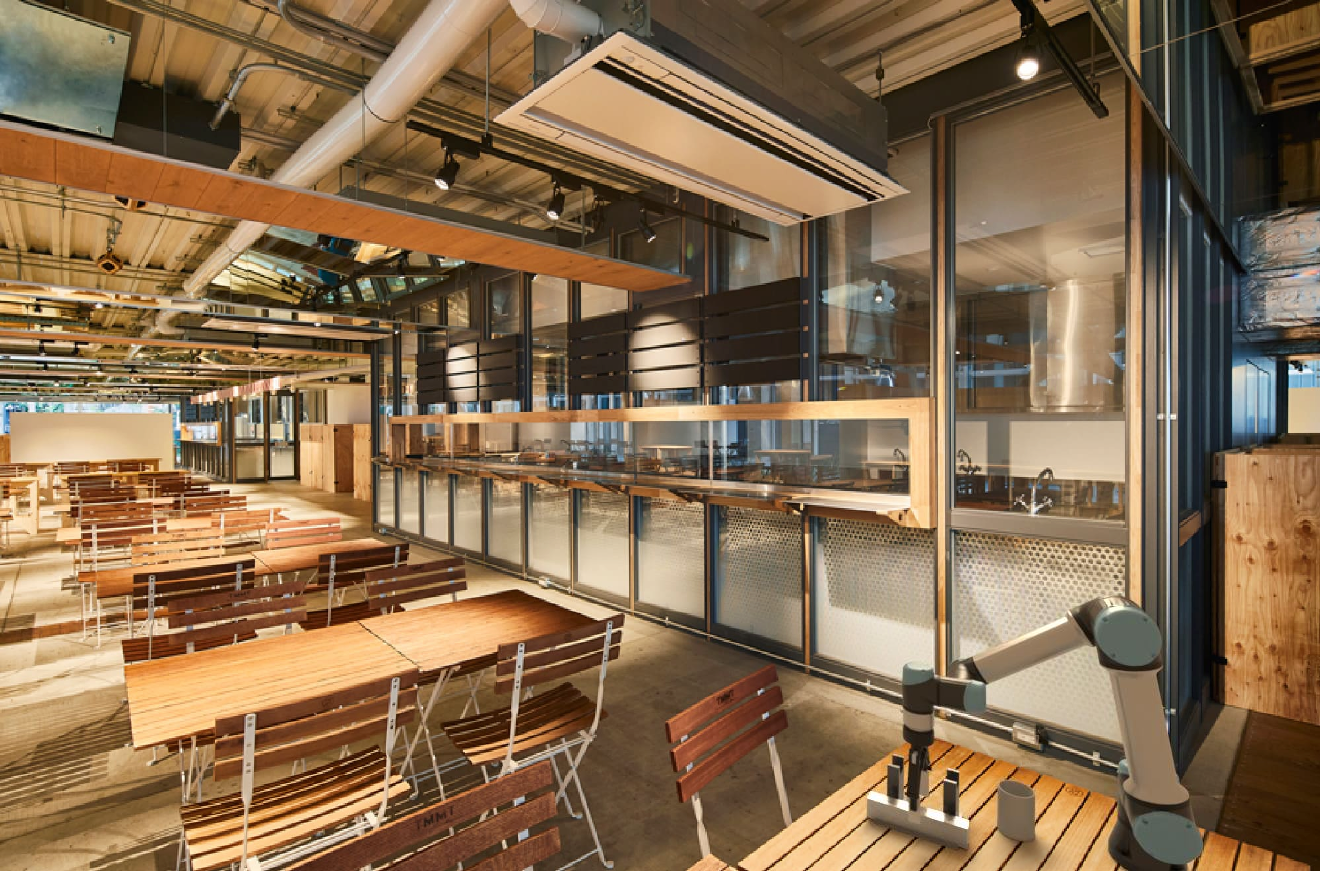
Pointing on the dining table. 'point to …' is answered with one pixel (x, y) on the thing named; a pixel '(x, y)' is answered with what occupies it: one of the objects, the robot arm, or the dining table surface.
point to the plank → (916, 835)
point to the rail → (930, 820)
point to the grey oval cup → (1016, 810)
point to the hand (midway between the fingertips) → (919, 808)
